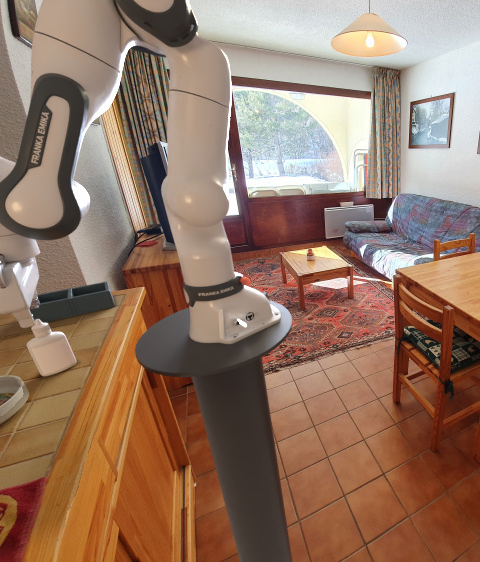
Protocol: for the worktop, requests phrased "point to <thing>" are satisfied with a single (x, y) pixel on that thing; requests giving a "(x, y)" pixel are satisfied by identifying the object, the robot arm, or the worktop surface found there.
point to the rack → (73, 302)
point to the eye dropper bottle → (50, 350)
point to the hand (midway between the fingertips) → (31, 316)
